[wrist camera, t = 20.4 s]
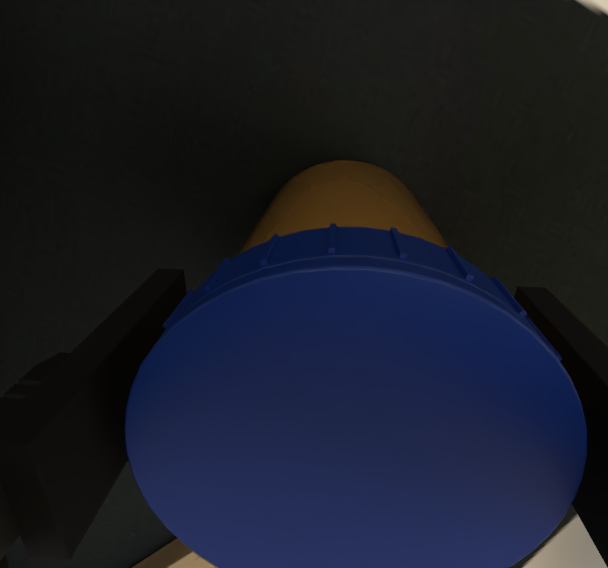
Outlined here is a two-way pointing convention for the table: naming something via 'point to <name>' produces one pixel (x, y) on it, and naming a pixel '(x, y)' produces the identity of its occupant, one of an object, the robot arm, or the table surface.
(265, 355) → the lid
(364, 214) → the jar
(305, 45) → the table surface
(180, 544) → the tray
